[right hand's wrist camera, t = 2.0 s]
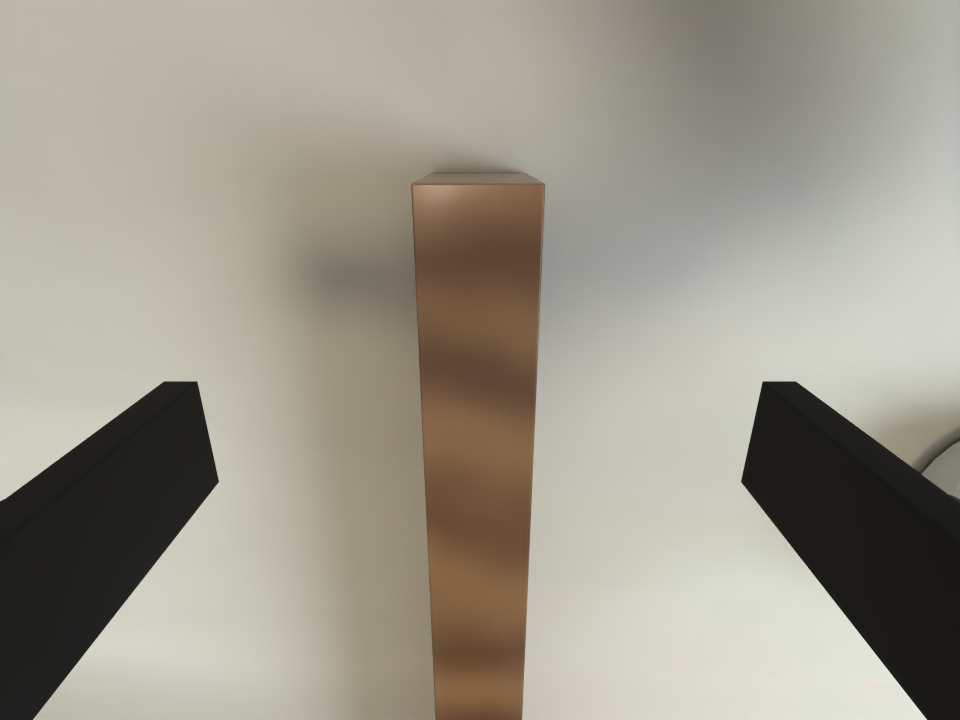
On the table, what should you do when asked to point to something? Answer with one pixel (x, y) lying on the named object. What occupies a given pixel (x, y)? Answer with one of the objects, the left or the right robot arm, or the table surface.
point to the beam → (478, 427)
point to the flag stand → (946, 471)
